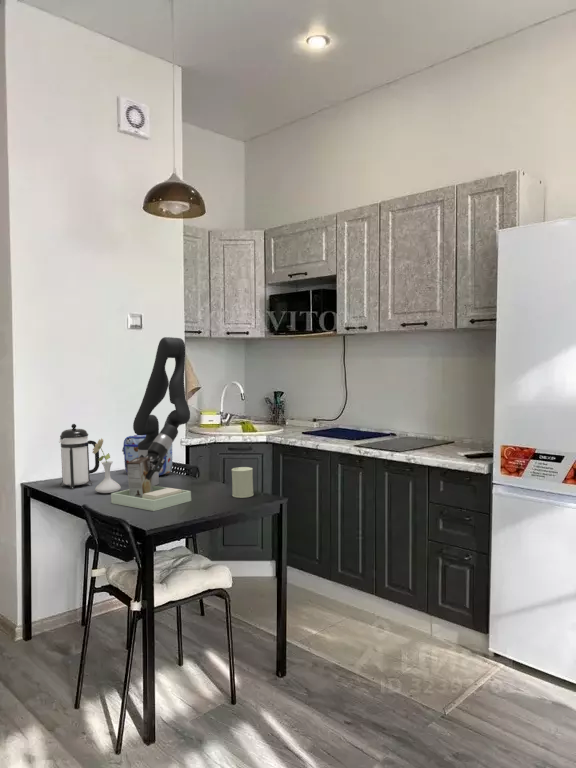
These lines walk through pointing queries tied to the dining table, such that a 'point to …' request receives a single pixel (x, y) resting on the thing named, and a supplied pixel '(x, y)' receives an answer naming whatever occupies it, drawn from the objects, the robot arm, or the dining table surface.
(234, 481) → the can
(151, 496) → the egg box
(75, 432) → the coffee press
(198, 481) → the dining table surface
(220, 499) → the dining table surface
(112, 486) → the flower in vase
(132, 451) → the lunch box
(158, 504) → the tray
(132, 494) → the coffee box
